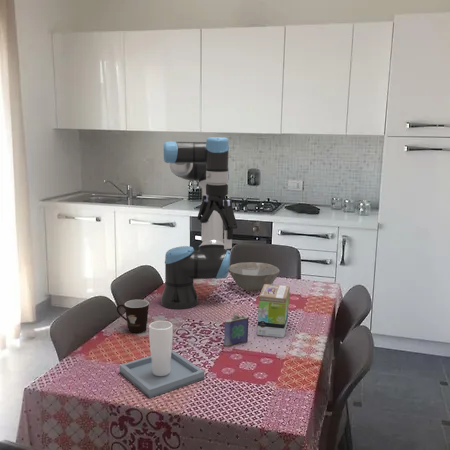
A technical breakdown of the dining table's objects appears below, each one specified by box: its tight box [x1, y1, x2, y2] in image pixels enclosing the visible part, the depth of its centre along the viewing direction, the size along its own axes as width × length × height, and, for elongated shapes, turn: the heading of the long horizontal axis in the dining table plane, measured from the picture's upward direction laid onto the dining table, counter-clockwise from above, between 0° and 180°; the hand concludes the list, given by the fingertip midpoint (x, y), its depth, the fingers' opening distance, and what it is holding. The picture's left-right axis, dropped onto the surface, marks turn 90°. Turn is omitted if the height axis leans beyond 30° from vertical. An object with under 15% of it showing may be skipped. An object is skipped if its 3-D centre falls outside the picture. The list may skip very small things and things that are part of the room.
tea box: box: [256, 284, 291, 338], centre depth 182 cm, size 15×10×15 cm
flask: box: [223, 312, 250, 348], centre depth 170 cm, size 9×3×11 cm, turn 121°
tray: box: [119, 349, 205, 399], centre depth 147 cm, size 18×18×2 cm
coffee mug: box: [116, 299, 150, 335], centre depth 181 cm, size 12×9×10 cm
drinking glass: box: [148, 320, 174, 376], centre depth 146 cm, size 7×7×15 cm
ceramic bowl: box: [228, 261, 280, 293], centre depth 227 cm, size 22×23×10 cm
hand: (216, 244), depth 174 cm, fingers open, 13 cm apart
